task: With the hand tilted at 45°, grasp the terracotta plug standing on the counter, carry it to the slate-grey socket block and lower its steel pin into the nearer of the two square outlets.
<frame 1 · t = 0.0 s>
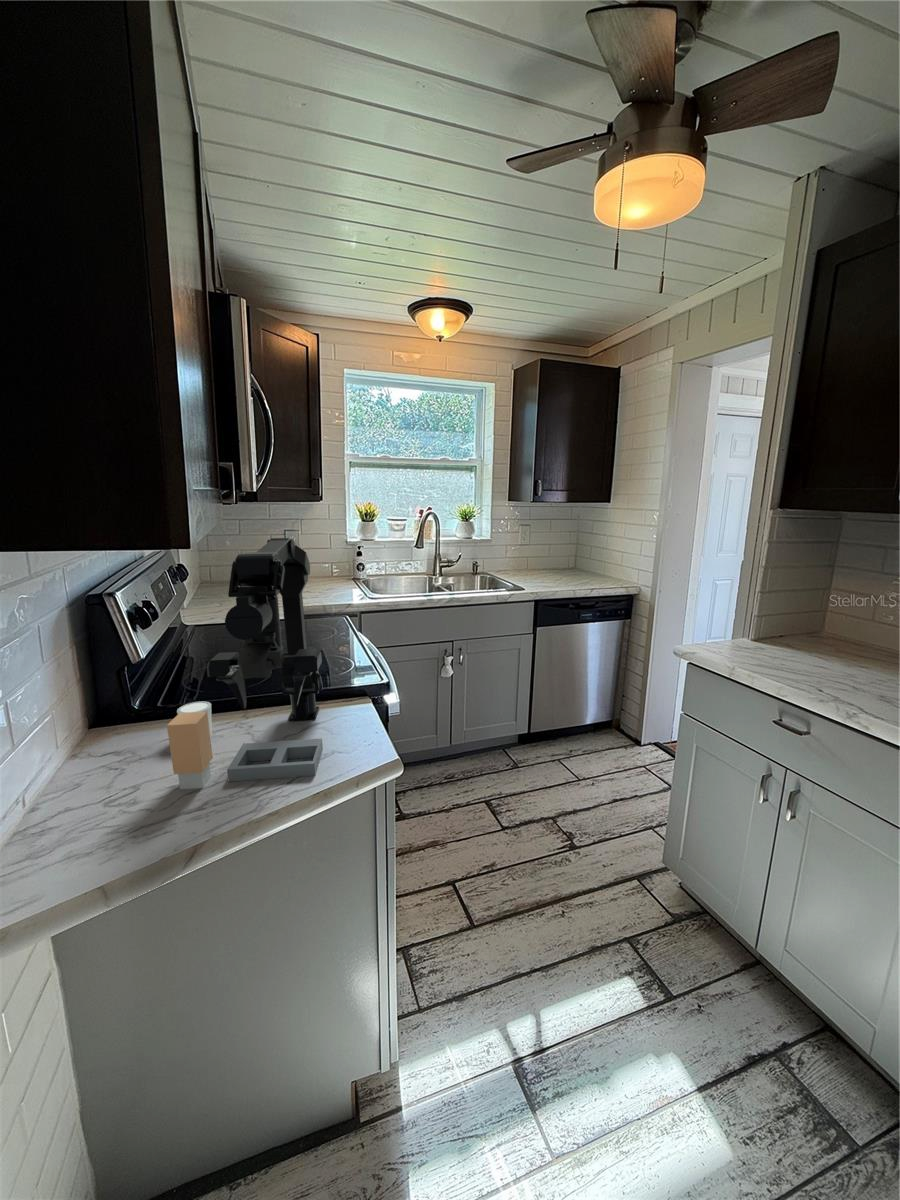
hand: (270, 706, 89), 15 cm above the worktop, tool pointing down, fingers open, 9 cm apart
plug: (196, 782, 91), on the worktop
white cylinder: (198, 736, 109), on the worktop
socket block: (278, 764, 97), on the worktop
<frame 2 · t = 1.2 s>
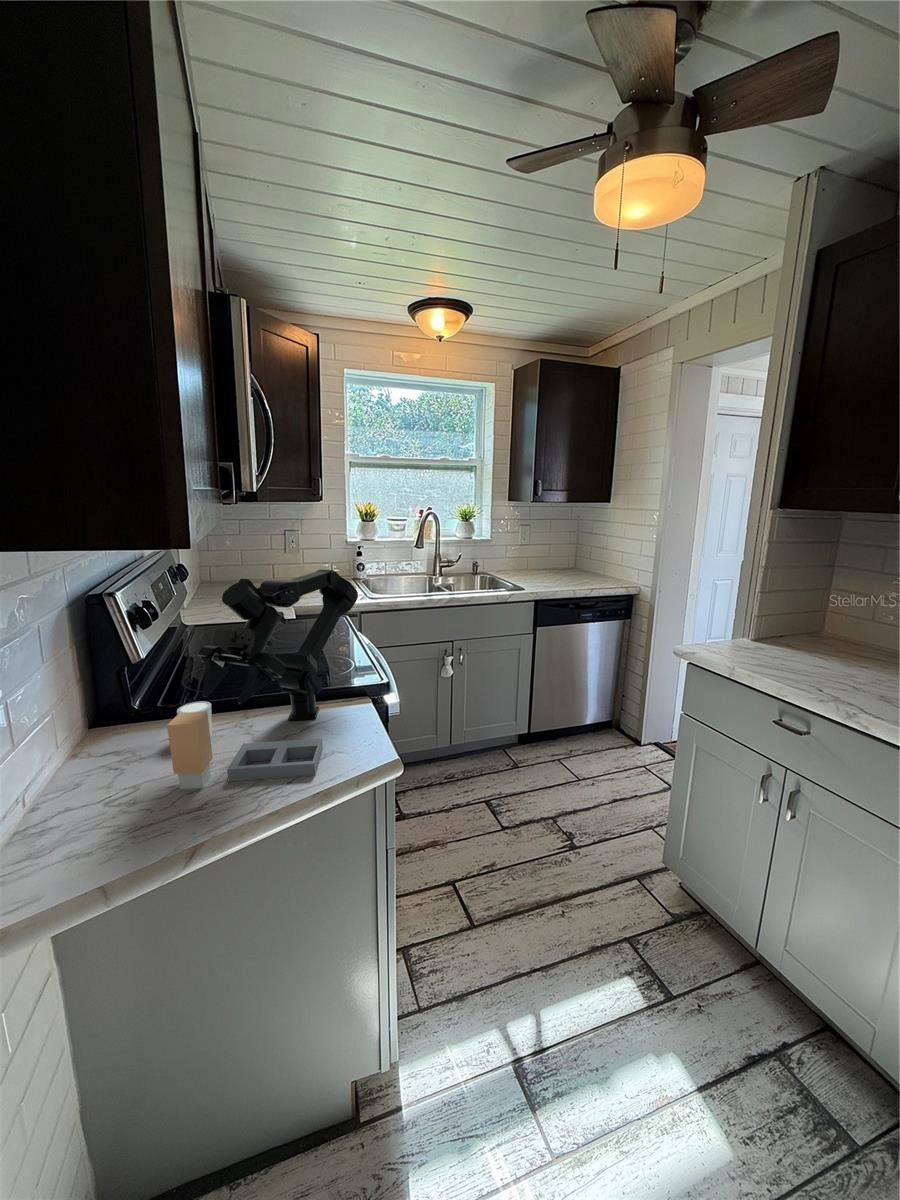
hand: (221, 699, 95), 14 cm above the worktop, tool tilted 45°, fingers open, 9 cm apart
nothing on the worktop moved.
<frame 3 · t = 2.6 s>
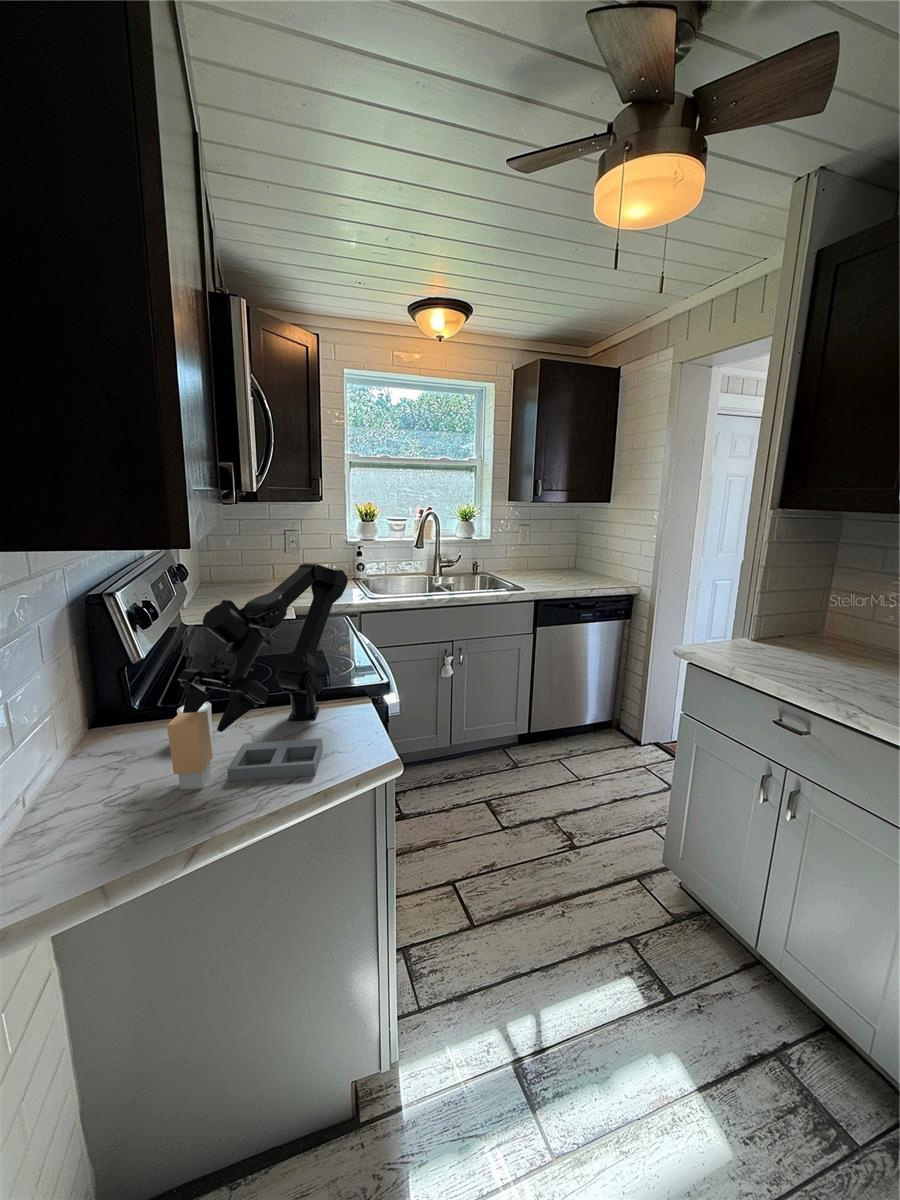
hand: (201, 727, 91), 10 cm above the worktop, tool tilted 45°, fingers open, 9 cm apart
nothing on the worktop moved.
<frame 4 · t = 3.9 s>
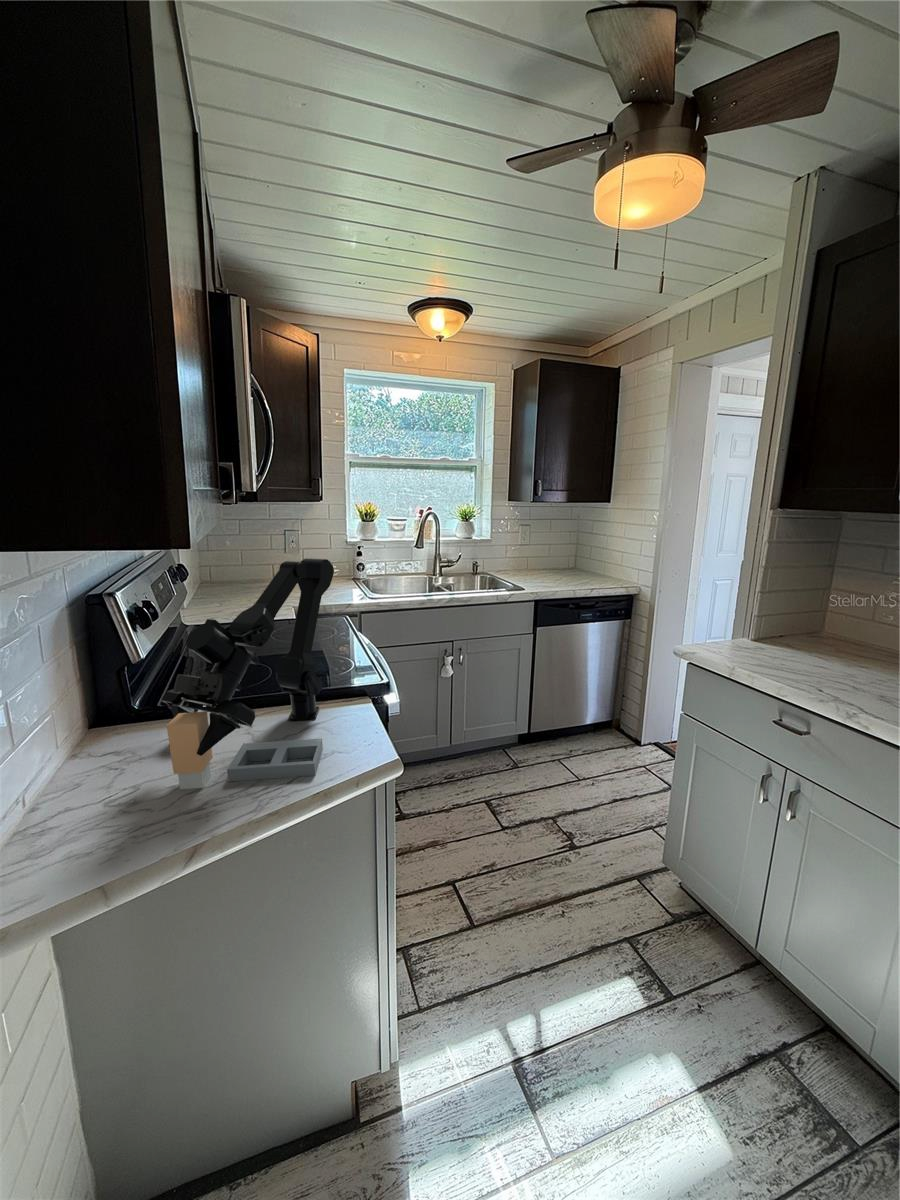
hand: (184, 751, 88), 7 cm above the worktop, tool tilted 45°, fingers closed on plug, 7 cm apart
plug: (196, 782, 91), on the worktop, touching gripper
everything else where it was.
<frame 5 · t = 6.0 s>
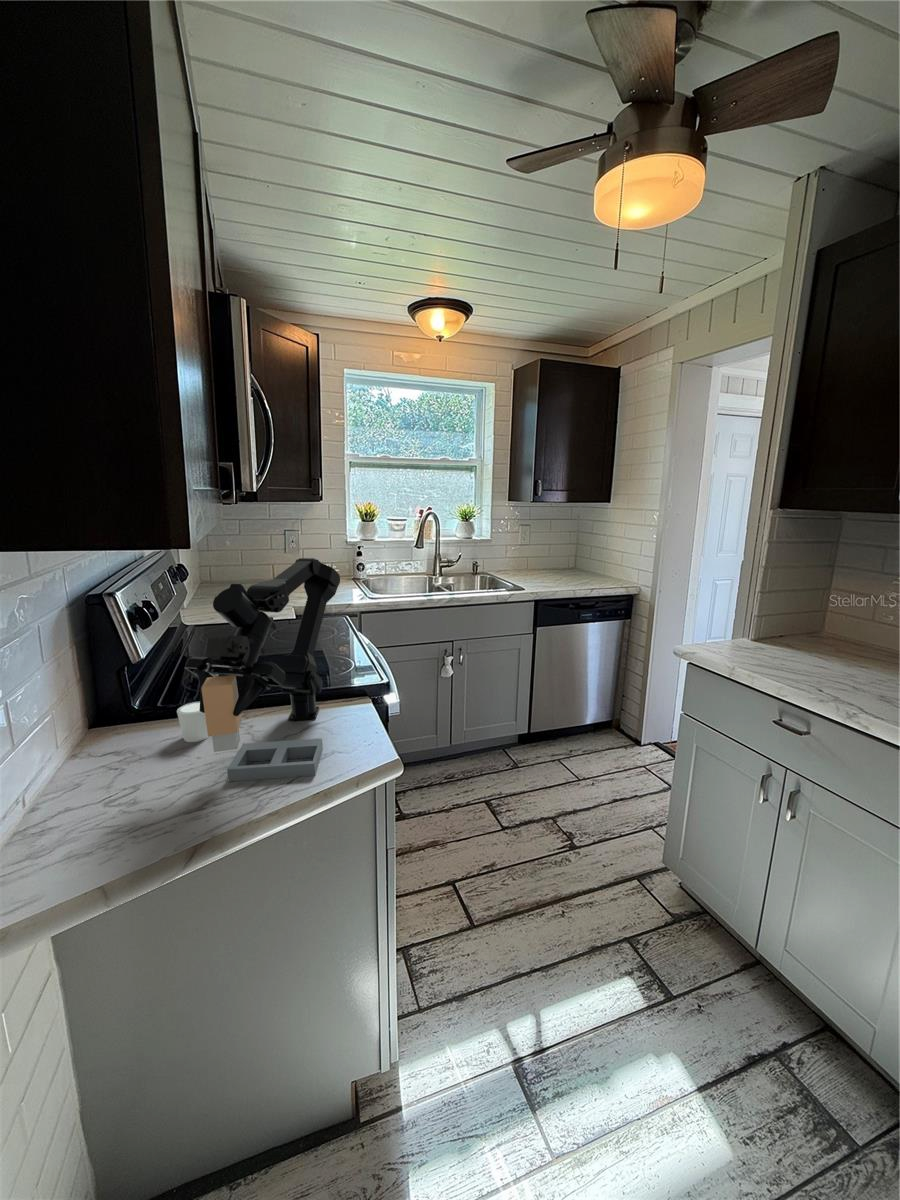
hand: (218, 713, 89), 13 cm above the worktop, tool tilted 45°, fingers closed on plug, 7 cm apart
plug: (227, 745, 92), point 6 cm above the worktop, touching gripper
everything else where it was.
when the fingers open (8 cm above the worktop, at t = 8.3 s): plug stays where it is, resting in socket block.
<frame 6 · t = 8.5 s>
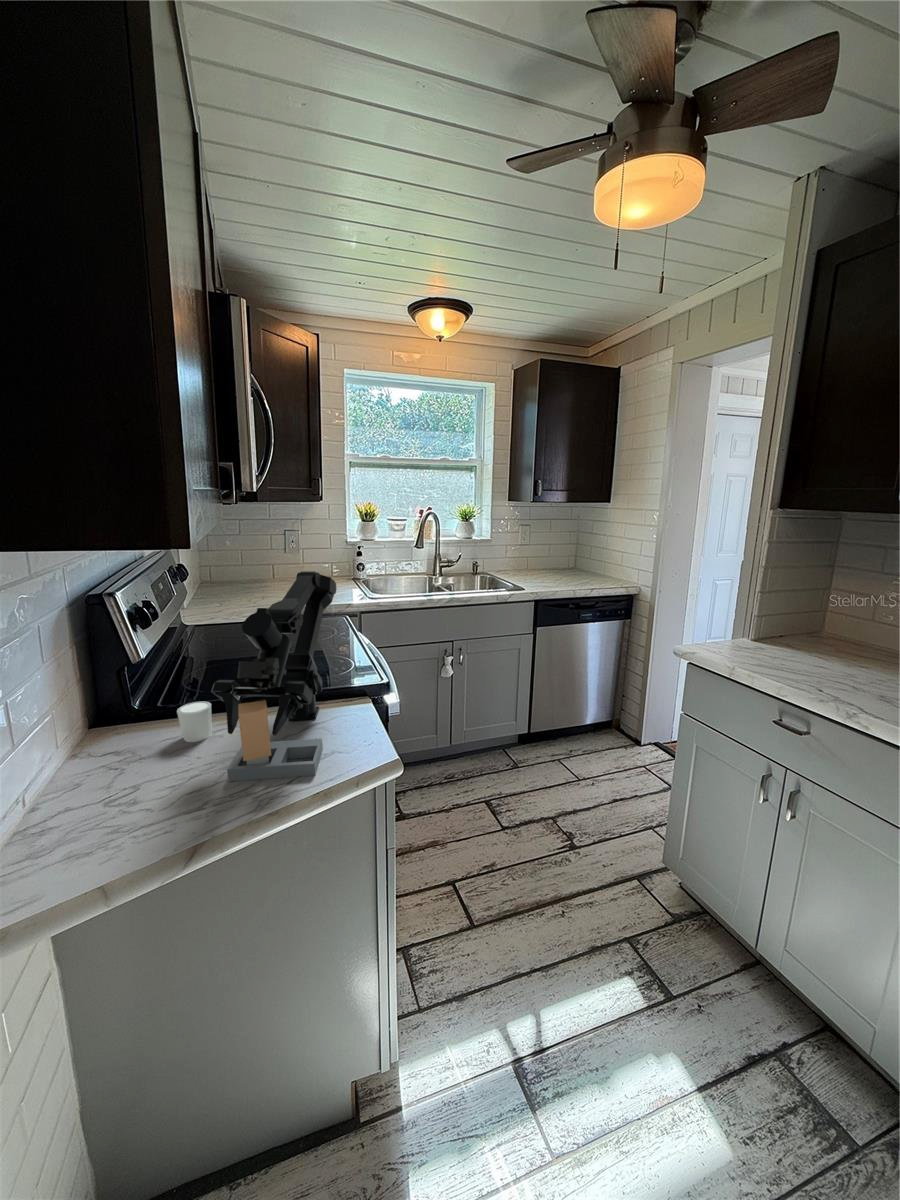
hand: (251, 734, 92), 8 cm above the worktop, tool tilted 45°, fingers open, 8 cm apart
plug: (258, 768, 96), resting in socket block
everything else where it was.
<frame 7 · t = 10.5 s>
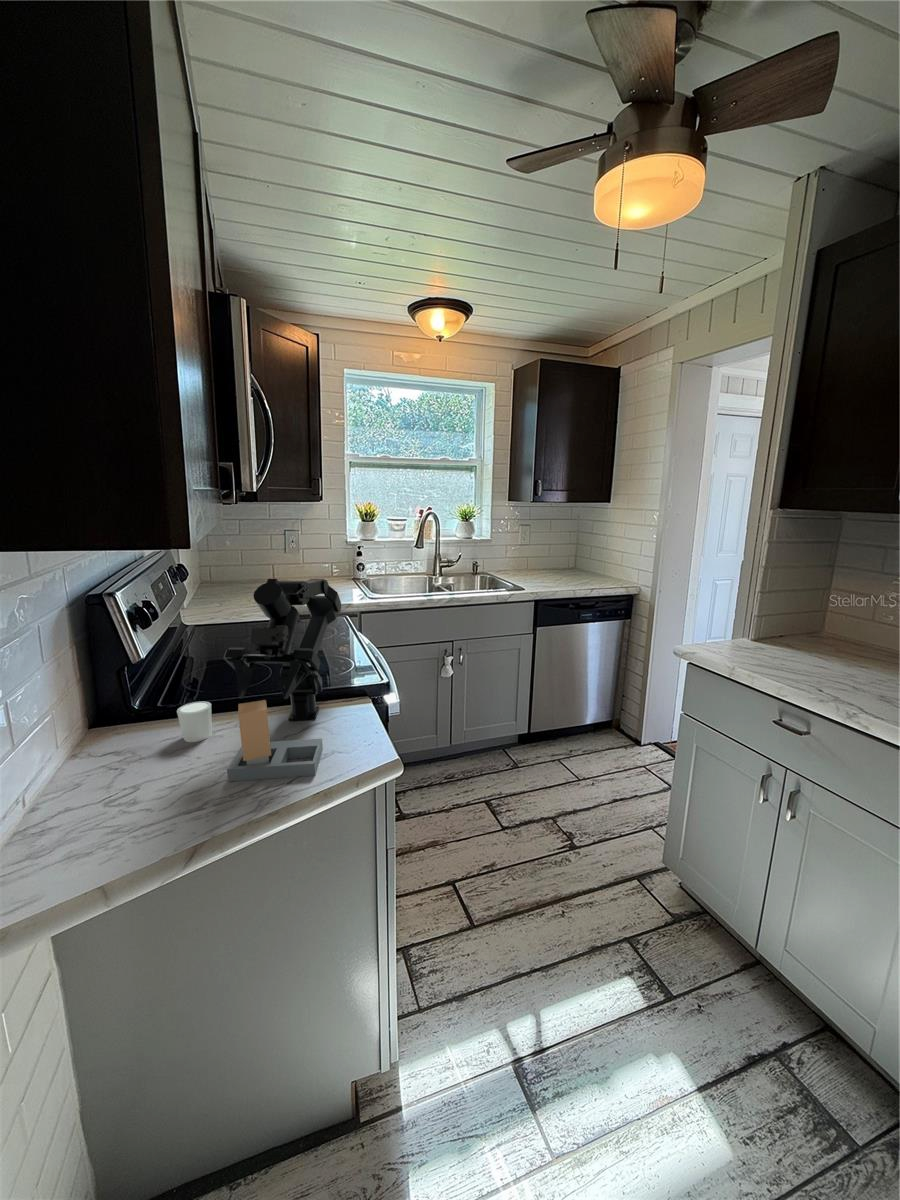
hand: (262, 697, 97), 13 cm above the worktop, tool tilted 45°, fingers open, 9 cm apart
nothing on the worktop moved.
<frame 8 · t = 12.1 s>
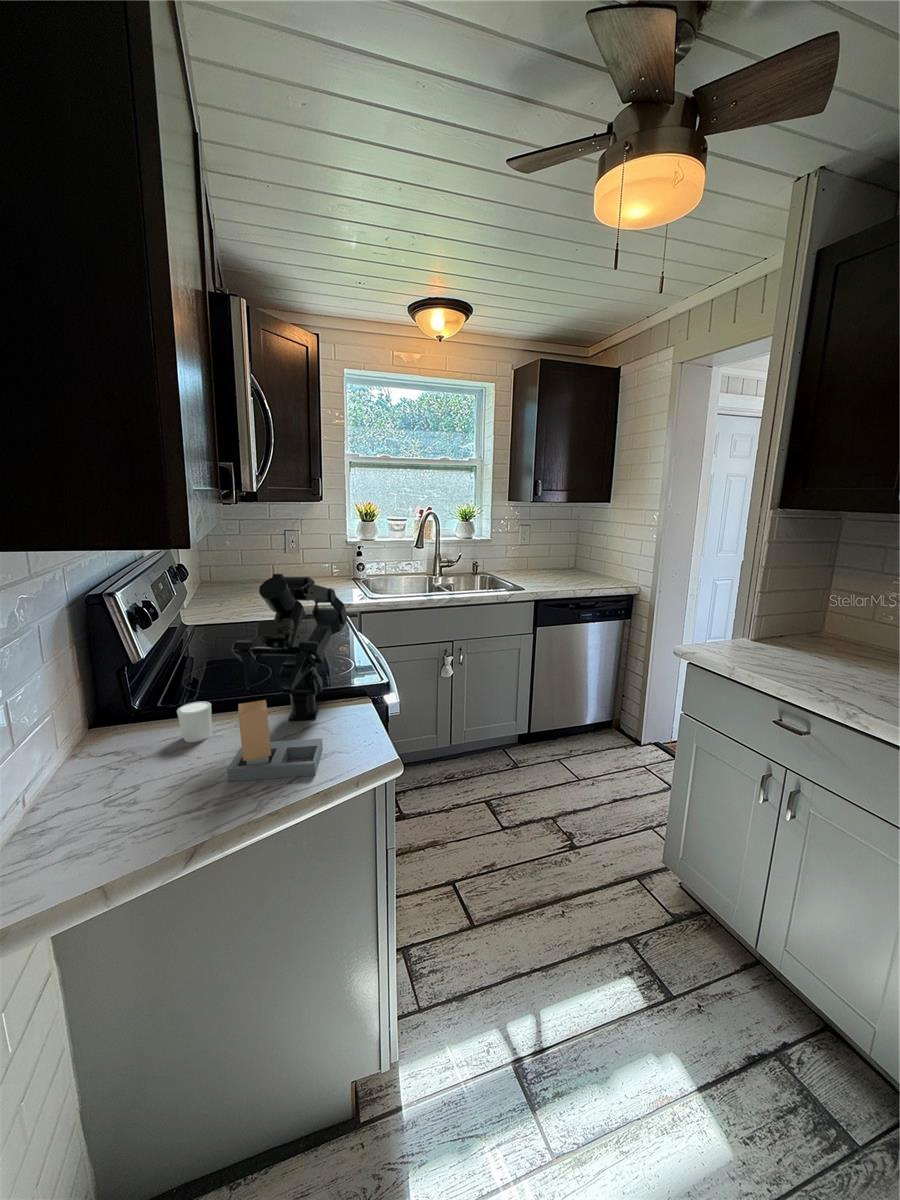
hand: (269, 688, 100), 14 cm above the worktop, tool tilted 45°, fingers open, 9 cm apart
nothing on the worktop moved.
at the end: plug 0.1 cm from the target spot on the socket block, point 0.0 cm above the socket block's base; plug tilted 0°; the gripper is holding nothing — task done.
